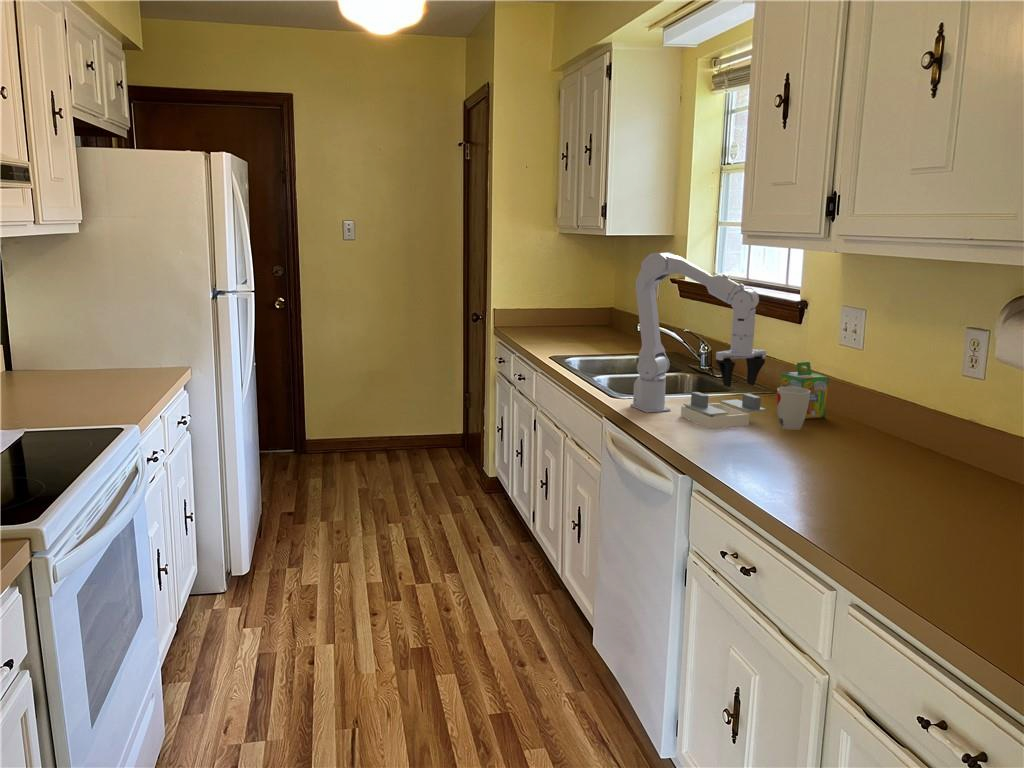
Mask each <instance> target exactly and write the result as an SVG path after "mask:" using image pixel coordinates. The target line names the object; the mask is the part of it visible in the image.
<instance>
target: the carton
mask: <svg viewBox="0 0 1024 768" xmlns="http://www.w3.org/2000/svg"><path fill="white" fill-rule="evenodd" d="M708 405H710V406H712V407H715V408H718V409H721V410H723V411H726V412H728V414H721V415H707V414H705V413H702V412H700V411H697V410H695V409H692V408H689V407H687V406H684V405H681V407H680V418H683V417H684V418H683V419H685V418H686V420H688V419H689V421H690V420H691V421H690V422H692V421H693V422H692V423H695V424H697V423H698V425H700V426H702V425H703V426H702V427H705V426H706V427H705V428H707V427H708V428H707V429H709V428H715V429H721V428H720V427H725V428H732V427H733V426H735V427H742V426H743V427H745V426H750V419H751V418H750V413H749V412H746V411H744V410H741V409H738V408H735V407H732V406H730V405H727V404H724V403H721V402H712V403H708ZM744 425H745V426H744ZM733 428H734V427H733Z"/></svg>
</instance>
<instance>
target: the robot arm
mask: <svg viewBox="0 0 1024 768" xmlns="http://www.w3.org/2000/svg"><path fill="white" fill-rule="evenodd" d="M640 264H641V268H640V270H639V273H638V275H637V278H636V280H635V291H636V302H637V311H638V320H639V330H640V339H641V348H640V349H639V353H638V362H637V364H636V370H637V373H638V375H639V376H638V377H637V378H636V380H635V381H634V382H633V395H632V396H633V397H632V403H630V405H629V406H631V407H632V408H634V409H637V410H639V411H642V412H644V413H658V412H659V413H660V412H668V411H671V407H670V408H669V407H667V406H665V403H666V400H665V399H666V385H667V384H666V381H667V379H666V378H667V377H666V373H667V372H668V371H669V369H670V364H671V363H670V359H669V358H668V356H667V354H666V349H665V347H664V345H663V344H662V342H661V341H662V340H661V331H660V321H659V312H658V311H659V309H658V301H657V293H656V288H657V287H658V285H659V284H660V283H661V282H662V281H663V279H666V278H667V277H669V276H670V275H683V276H684V277H687V278H688V279H691V280H693V282H694V281H695V282H697V283H699V284H700V285H702V286H705V287H706V289H707V293H708V294H709V295H711V296H713V297H715V298H717V299H719V300H721V301H722V302H724V303H726V304H728V305H730V306H731V307H732V309H733V312H732V321H731V322H732V323H731V333H730V335H731V337H730V348H729V349H727V350H723V351H716V353H715V360H716V364H717V366H718V368H719V371H720V373H721V378H722V383H723V386H724V387H727V388H731V386H732V381H733V380H732V377H733V372H734V368H735V365H736V362H735V361H732V360H737V359H738V360H741V359H746V360H745V361H746V367H747V369H746V370H747V373H746V374H747V375H746V377H747V378H746V381H747V384H748V385H751V386H755V383H756V382H757V381H756V380H757V378H758V375H759V373H760V371H761V369H762V367H763V366H764V364H765V363H766V359H765V358H766V357H767V350H766V349H754V338H755V327H756V307H757V306H758V305H759V303H760V297H759V293H757V291H755V290H754V289H753V288H752V287H745V284H743V283H738V282H736V281H734V280H732V279H730V278H729V277H730V276H729V275H727V274H726V273H724V274H721V273H718V274H716V275H712V274H711V273H709V272H708V271H706V270H704V269H702V268H701V267H699V266H697V265H696V264H694V263H692V262H690V261H688V260H687V259H685V258H684V257H682V256H680V255H676V254H674V253H673V252H670V251H664V252H652V253H650V254H648V255H647V256H646V258H645V259H643V260H642V261H641V263H640Z"/></svg>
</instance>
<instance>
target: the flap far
mask: <svg viewBox="0 0 1024 768" xmlns="http://www.w3.org/2000/svg"><path fill="white" fill-rule="evenodd" d="M761 399H762V397H761V396H758V395H755V394H752V393H743V394H742V400H740V399H737V398H736V399H729V400H728V399H727V400H720V404H723V405H726V406H729V407H732V408H735V409H737V410H740V411H743V412H746V413H753V412H764V411H767V408H764V407H761V403H762V402H761V401H762V400H761Z"/></svg>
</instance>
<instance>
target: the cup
mask: <svg viewBox="0 0 1024 768" xmlns="http://www.w3.org/2000/svg"><path fill="white" fill-rule="evenodd" d="M776 390H777V393H776V397H777V398H776V407H777V409H776V410H777V417H778V421H779V425H780V428H781V427H782V429H785V430H793V431H795V430H796V431H797V430H801V429H802V427H803V424H804V422H805V420H806V419H805V416H806V413H807V409H808V404H809V398H810V390H808V389H804V388H798V387H781V386H780V387H777V389H776Z"/></svg>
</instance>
